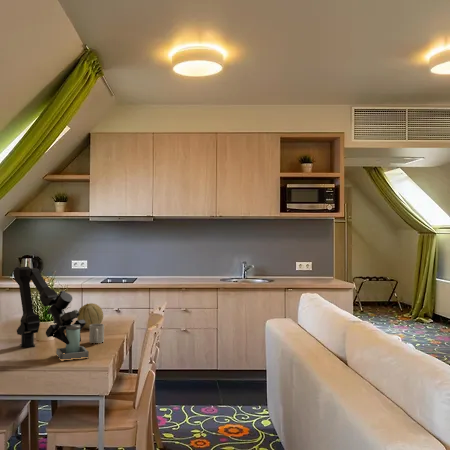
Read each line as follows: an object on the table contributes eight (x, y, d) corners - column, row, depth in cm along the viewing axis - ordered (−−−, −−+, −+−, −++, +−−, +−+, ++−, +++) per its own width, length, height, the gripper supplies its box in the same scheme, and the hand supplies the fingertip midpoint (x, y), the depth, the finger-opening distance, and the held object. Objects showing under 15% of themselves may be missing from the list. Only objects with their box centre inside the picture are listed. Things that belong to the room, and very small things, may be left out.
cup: (104, 340, 253) (104, 323, 253) (103, 345, 243) (103, 327, 243) (89, 341, 251) (90, 323, 251) (88, 345, 242) (88, 327, 242)
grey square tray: (56, 355, 223) (56, 348, 223) (82, 352, 228) (83, 345, 228) (60, 361, 212) (60, 354, 212) (88, 358, 218) (88, 351, 218)
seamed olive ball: (106, 326, 290) (107, 301, 290) (97, 331, 275) (98, 305, 275) (82, 325, 291) (83, 300, 291) (72, 330, 277) (73, 304, 277)
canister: (64, 355, 222) (65, 324, 222) (77, 354, 224) (78, 324, 225) (66, 358, 216) (67, 327, 216) (80, 357, 219) (81, 326, 219)
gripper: (49, 307, 215) (65, 335, 209) (83, 302, 230) (99, 328, 224) (38, 322, 219) (53, 350, 213) (72, 316, 235) (87, 342, 229)
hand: (74, 342), depth 220 cm, fingers closed on canister, 6 cm apart
